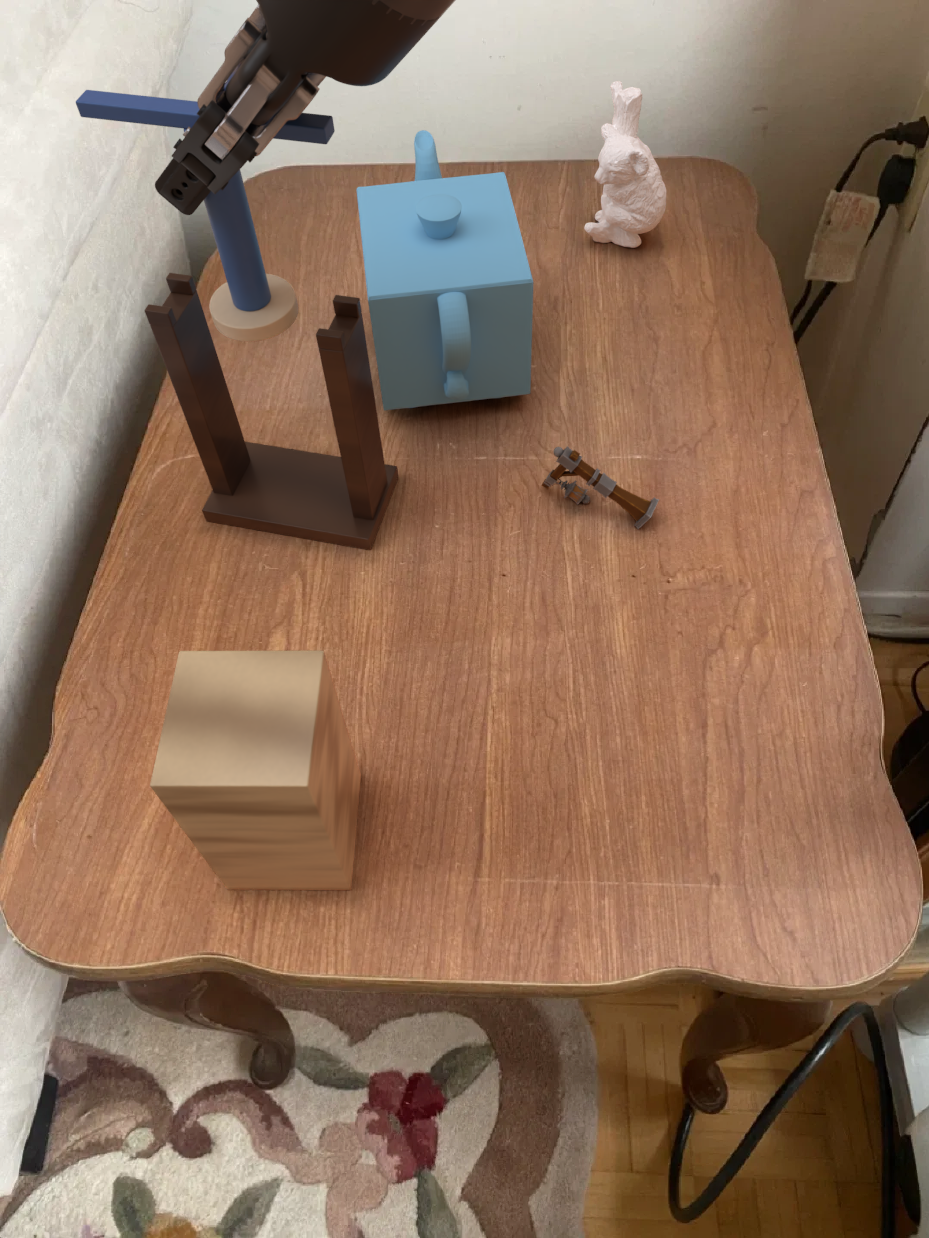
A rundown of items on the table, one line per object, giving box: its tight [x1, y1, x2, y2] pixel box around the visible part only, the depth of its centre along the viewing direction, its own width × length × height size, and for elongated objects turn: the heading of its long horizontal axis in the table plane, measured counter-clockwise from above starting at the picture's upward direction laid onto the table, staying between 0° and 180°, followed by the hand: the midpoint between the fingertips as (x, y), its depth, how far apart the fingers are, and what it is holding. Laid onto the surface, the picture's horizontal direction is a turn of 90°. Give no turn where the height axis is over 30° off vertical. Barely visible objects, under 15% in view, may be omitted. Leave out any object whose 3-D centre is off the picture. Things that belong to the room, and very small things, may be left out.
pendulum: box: [75, 89, 335, 343], centre depth 51 cm, size 5×13×12 cm, turn 75°
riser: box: [149, 649, 362, 891], centre depth 49 cm, size 7×7×14 cm
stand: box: [144, 272, 399, 551], centre depth 62 cm, size 7×12×17 cm, turn 76°
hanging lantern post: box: [541, 445, 660, 530], centre depth 67 cm, size 2×8×4 cm, turn 65°
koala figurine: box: [583, 80, 668, 249], centre depth 80 cm, size 8×7×12 cm
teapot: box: [356, 129, 535, 411], centre depth 72 cm, size 22×11×14 cm, turn 7°
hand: (184, 183), depth 50 cm, fingers closed on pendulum
